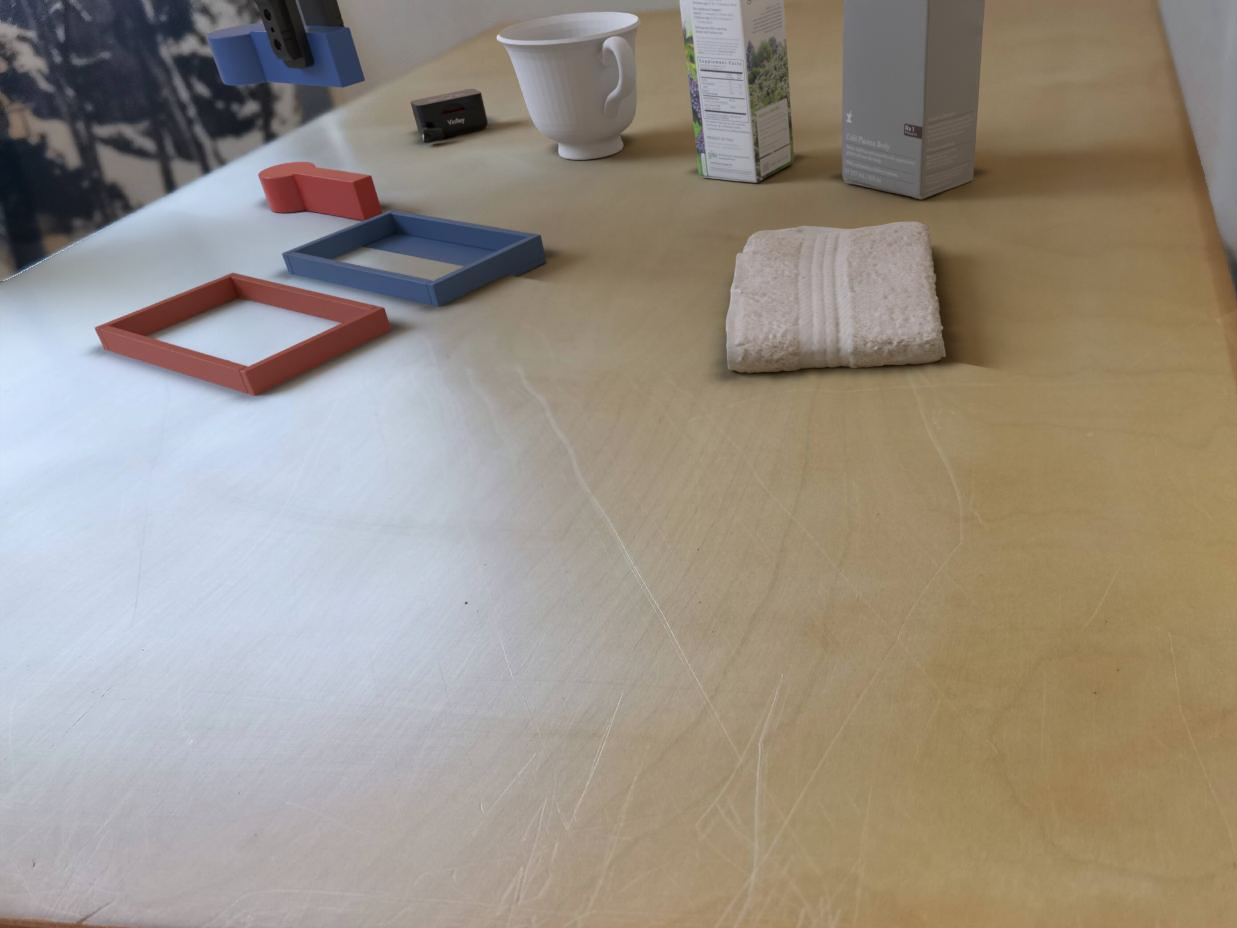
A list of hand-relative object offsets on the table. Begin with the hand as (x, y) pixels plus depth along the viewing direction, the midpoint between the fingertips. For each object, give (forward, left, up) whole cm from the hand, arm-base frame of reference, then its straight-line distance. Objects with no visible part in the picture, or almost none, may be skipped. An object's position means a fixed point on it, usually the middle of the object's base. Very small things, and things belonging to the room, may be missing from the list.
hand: (316, 61), depth 69 cm
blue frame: (+2, +2, -14) cm, 14 cm away
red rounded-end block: (-17, +9, -14) cm, 24 cm away
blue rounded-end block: (-3, 0, -1) cm, 3 cm away
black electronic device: (-24, +29, -14) cm, 40 cm away
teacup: (-6, +29, -14) cm, 32 cm away
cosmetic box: (+25, +31, -14) cm, 42 cm away
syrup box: (+11, +29, -14) cm, 34 cm away
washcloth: (+33, +7, -14) cm, 36 cm away
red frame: (+2, -12, -14) cm, 18 cm away
